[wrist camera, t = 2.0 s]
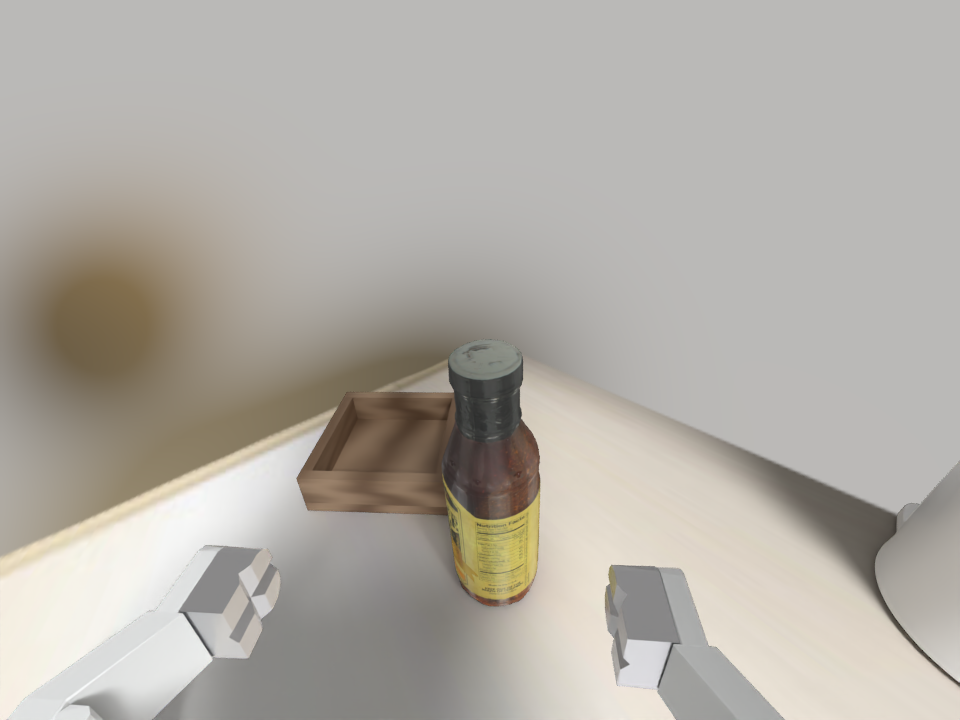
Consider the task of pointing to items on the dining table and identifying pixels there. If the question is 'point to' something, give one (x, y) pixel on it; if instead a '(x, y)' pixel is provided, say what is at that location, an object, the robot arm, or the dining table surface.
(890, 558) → the robot arm
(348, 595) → the dining table surface
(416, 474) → the brown wooden tray
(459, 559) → the sauce bottle
